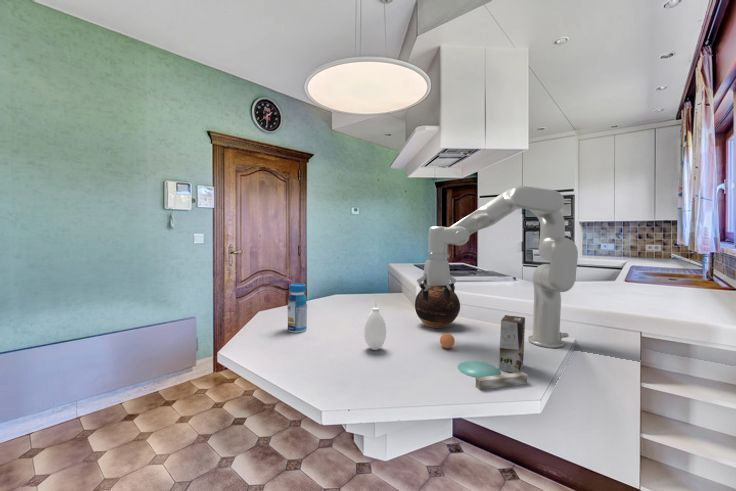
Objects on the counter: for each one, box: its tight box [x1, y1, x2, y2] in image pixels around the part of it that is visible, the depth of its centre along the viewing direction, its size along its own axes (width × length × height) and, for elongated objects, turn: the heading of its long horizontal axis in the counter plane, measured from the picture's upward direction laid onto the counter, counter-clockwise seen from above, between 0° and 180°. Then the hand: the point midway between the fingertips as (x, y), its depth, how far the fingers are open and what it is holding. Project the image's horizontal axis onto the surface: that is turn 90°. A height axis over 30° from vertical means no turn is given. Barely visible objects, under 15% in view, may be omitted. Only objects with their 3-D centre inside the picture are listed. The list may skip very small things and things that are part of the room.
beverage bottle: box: [287, 283, 308, 334], centre depth 143 cm, size 8×8×20 cm
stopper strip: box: [475, 371, 528, 391], centre depth 95 cm, size 16×2×2 cm, turn 106°
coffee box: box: [498, 314, 526, 374], centre depth 108 cm, size 9×6×16 cm
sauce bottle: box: [363, 301, 387, 351], centre depth 122 cm, size 8×8×18 cm
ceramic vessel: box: [414, 264, 461, 329], centre depth 153 cm, size 21×18×30 cm
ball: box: [439, 332, 456, 349], centre depth 125 cm, size 6×6×6 cm
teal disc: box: [457, 360, 502, 378], centre depth 106 cm, size 13×13×1 cm
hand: (436, 300), depth 133 cm, fingers open, 8 cm apart
